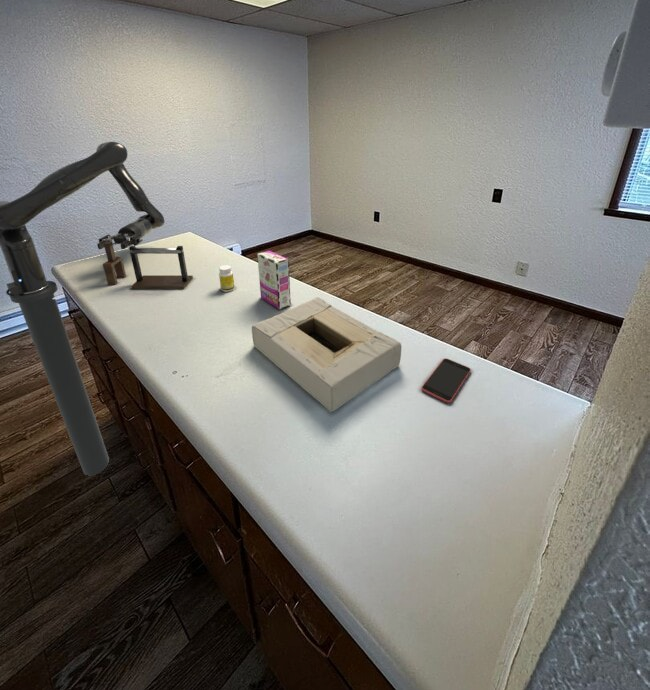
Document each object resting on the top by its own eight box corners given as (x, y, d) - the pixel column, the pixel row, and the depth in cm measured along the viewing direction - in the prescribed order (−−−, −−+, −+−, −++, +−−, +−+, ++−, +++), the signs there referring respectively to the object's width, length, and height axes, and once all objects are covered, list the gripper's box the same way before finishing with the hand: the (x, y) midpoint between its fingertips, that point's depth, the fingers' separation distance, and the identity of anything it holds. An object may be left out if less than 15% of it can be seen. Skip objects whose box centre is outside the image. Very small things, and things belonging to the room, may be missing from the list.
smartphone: (472, 368, 87) (450, 402, 77) (471, 370, 88) (450, 404, 78) (444, 357, 91) (420, 388, 81) (444, 358, 92) (419, 390, 82)
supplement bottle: (236, 289, 128) (234, 268, 125) (223, 293, 126) (221, 271, 122) (231, 284, 132) (229, 263, 129) (219, 288, 129) (216, 266, 126)
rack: (184, 289, 129) (177, 251, 123) (131, 289, 129) (122, 251, 124) (193, 278, 137) (187, 242, 131) (143, 278, 137) (135, 242, 132)
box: (401, 365, 90) (317, 315, 112) (403, 340, 87) (316, 293, 108) (333, 417, 75) (252, 347, 97) (333, 388, 72) (249, 323, 94)
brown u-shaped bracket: (115, 284, 133) (105, 246, 127) (107, 284, 133) (97, 246, 127) (126, 276, 139) (117, 239, 133) (118, 276, 139) (109, 239, 133)
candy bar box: (291, 305, 118) (289, 258, 111) (279, 310, 115) (276, 263, 108) (272, 293, 125) (269, 249, 119) (260, 298, 122) (256, 253, 116)
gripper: (113, 223, 145) (88, 237, 130) (148, 223, 145) (127, 237, 130) (117, 241, 148) (93, 256, 133) (152, 241, 148) (131, 256, 133)
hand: (110, 246), depth 132 cm, fingers open, 8 cm apart
